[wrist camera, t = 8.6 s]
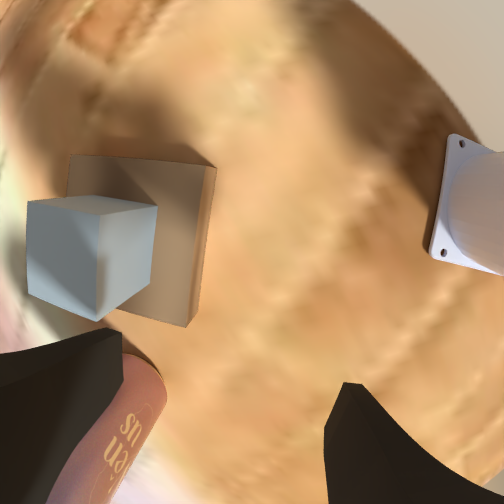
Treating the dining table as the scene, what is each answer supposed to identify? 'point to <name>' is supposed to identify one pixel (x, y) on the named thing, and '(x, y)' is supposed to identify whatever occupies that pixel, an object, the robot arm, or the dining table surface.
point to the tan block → (158, 225)
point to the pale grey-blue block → (88, 252)
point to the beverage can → (113, 438)
